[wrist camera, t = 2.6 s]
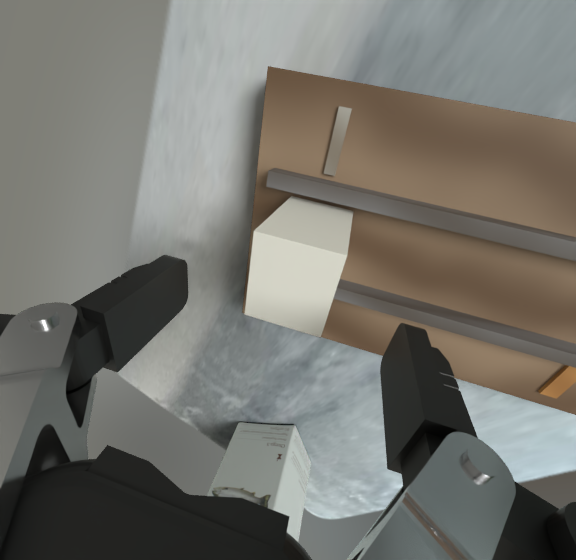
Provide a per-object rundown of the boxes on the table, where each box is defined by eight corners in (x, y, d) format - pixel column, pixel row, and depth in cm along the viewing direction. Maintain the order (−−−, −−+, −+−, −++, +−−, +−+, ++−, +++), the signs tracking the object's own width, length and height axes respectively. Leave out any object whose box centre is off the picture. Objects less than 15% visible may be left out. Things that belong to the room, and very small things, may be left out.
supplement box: (296, 422, 29) (255, 594, 18) (312, 462, 32) (286, 630, 21) (237, 419, 31) (171, 568, 21) (257, 456, 34) (209, 603, 24)
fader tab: (291, 195, 15) (253, 230, 10) (353, 211, 14) (347, 255, 9) (280, 259, 17) (244, 314, 12) (334, 273, 17) (320, 337, 11)
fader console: (279, 73, 14) (259, 60, 12) (877, 184, 11) (1043, 202, 8) (251, 298, 22) (235, 322, 19) (596, 401, 19) (635, 446, 16)
